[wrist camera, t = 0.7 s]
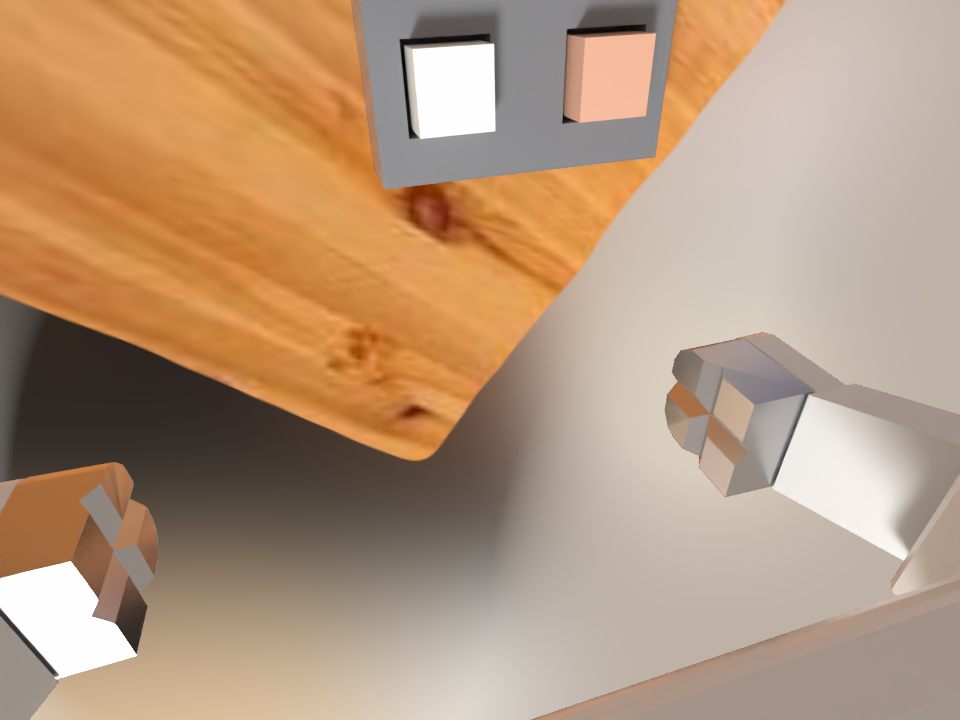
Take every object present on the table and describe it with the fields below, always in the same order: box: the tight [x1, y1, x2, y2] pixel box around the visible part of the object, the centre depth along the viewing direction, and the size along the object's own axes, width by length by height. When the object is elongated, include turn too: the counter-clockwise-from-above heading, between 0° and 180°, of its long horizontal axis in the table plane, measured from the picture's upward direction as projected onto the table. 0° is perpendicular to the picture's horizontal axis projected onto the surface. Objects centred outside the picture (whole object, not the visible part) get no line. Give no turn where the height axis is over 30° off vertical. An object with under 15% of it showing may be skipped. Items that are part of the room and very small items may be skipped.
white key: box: [404, 40, 495, 139], centre depth 36 cm, size 5×5×3 cm
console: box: [351, 0, 677, 189], centre depth 39 cm, size 12×21×5 cm, turn 92°
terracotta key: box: [563, 30, 656, 123], centre depth 38 cm, size 5×5×3 cm
